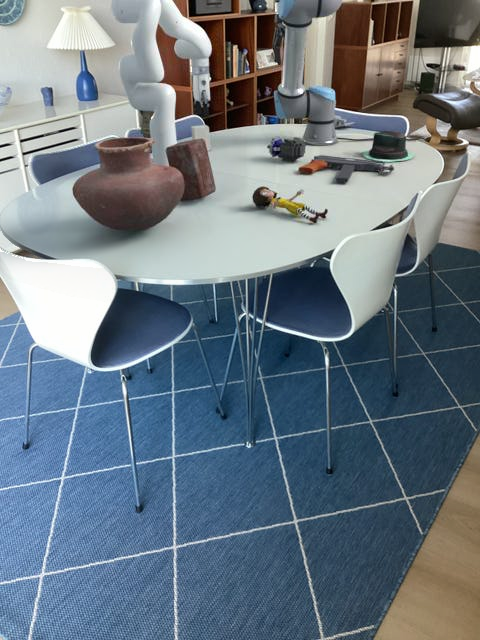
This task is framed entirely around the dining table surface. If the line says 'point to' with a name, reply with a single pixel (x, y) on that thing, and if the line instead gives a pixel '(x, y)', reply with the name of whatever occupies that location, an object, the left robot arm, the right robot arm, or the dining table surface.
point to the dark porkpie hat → (388, 147)
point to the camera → (338, 120)
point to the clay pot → (128, 186)
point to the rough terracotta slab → (192, 168)
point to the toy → (287, 148)
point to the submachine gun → (343, 166)
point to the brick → (201, 134)
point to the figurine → (284, 203)
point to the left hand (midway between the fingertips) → (201, 115)
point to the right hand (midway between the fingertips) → (282, 64)
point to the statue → (146, 123)
